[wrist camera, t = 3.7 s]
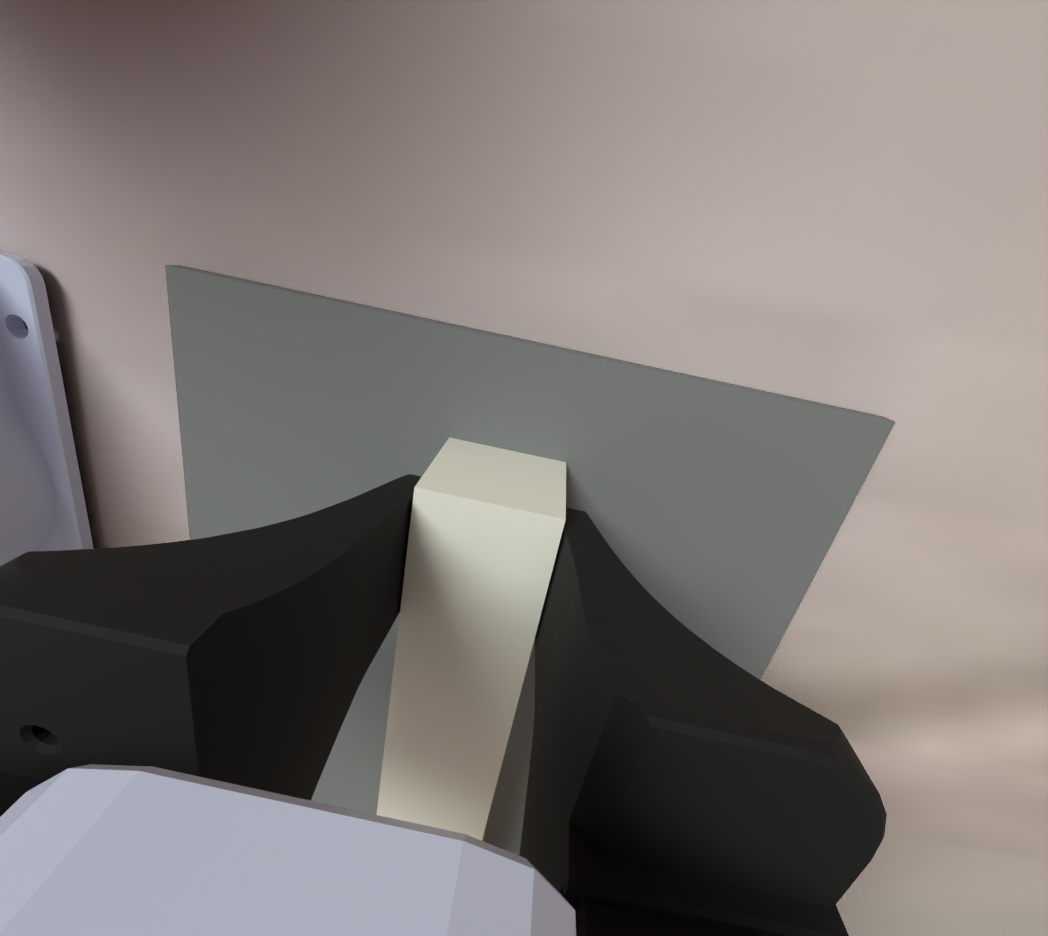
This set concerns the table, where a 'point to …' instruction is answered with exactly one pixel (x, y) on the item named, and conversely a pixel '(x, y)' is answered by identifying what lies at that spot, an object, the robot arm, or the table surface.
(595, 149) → the table surface
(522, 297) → the table surface
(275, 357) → the mat
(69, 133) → the table surface
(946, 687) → the table surface
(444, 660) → the plug
